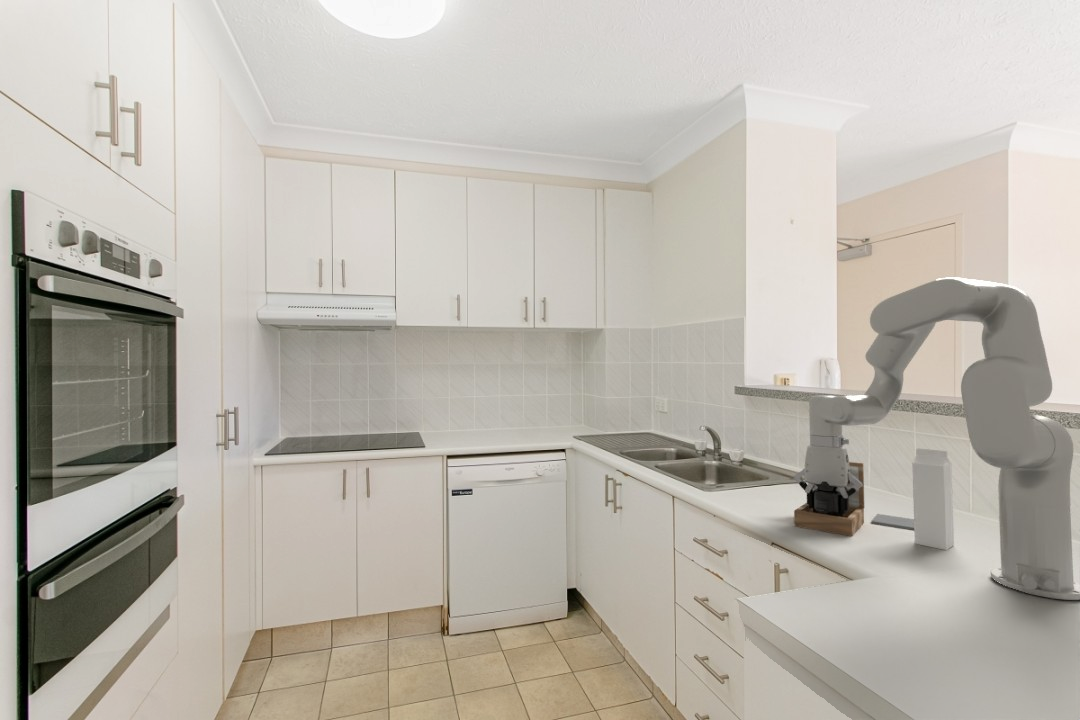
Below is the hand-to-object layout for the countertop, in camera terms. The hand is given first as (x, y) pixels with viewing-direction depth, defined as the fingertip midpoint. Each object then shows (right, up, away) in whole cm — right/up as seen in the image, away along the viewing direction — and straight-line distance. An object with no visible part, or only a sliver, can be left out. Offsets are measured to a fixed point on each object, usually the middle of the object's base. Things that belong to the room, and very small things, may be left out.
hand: (827, 509), depth 131 cm
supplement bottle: (0, -5, 0) cm, 5 cm away
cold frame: (+1, -4, +1) cm, 5 cm away
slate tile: (+20, -5, +3) cm, 21 cm away
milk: (+16, -4, -15) cm, 22 cm away
